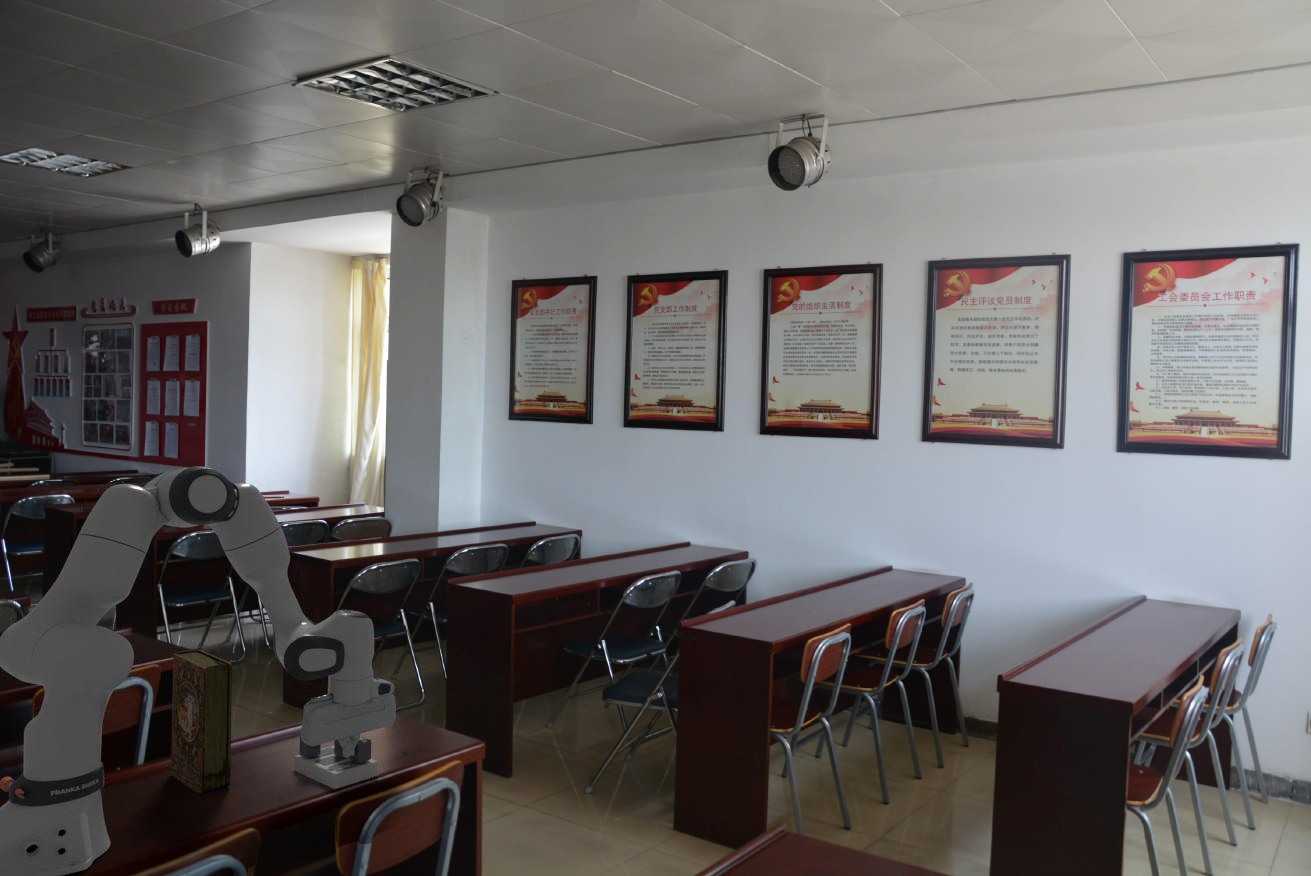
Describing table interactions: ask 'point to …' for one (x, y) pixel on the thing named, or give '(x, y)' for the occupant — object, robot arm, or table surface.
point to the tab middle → (338, 749)
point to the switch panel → (335, 768)
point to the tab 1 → (309, 750)
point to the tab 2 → (362, 751)
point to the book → (201, 720)
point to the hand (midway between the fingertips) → (348, 756)
